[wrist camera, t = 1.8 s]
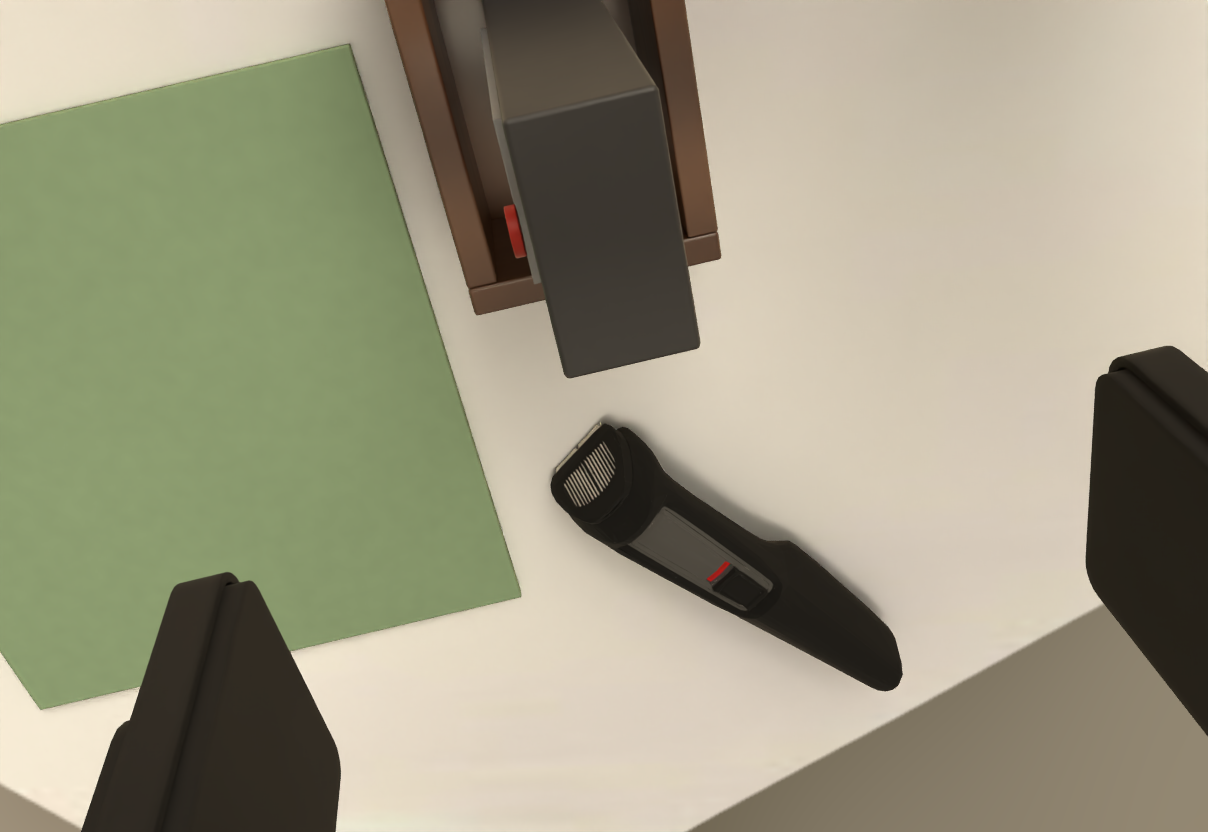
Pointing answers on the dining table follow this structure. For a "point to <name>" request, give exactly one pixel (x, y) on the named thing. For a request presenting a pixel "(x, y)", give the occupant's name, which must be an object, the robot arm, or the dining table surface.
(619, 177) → the dark grey rectangular brick
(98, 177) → the mat
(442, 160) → the holder
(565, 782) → the dining table surface
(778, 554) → the electric trimmer
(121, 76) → the dining table surface
